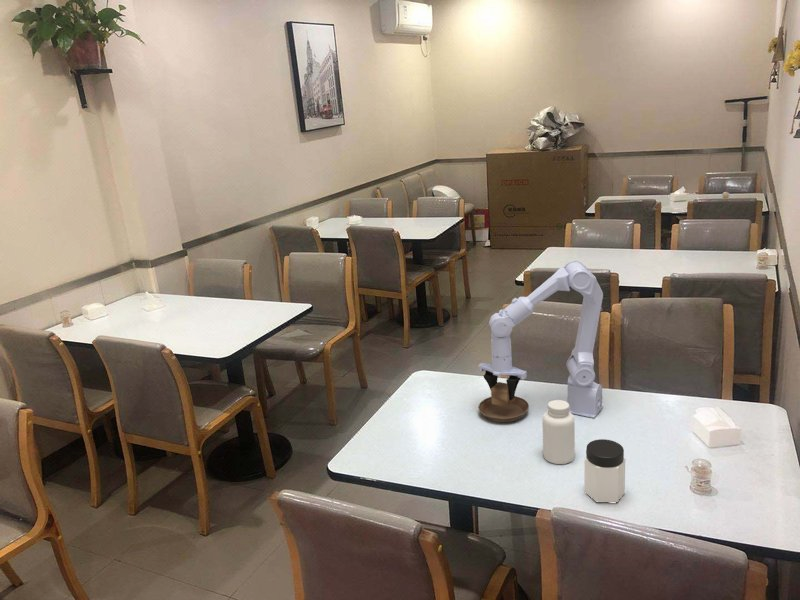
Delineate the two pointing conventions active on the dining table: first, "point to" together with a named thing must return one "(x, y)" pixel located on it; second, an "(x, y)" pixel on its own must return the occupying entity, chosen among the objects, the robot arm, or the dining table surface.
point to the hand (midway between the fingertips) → (503, 396)
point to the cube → (500, 395)
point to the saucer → (503, 410)
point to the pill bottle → (558, 433)
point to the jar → (604, 471)
